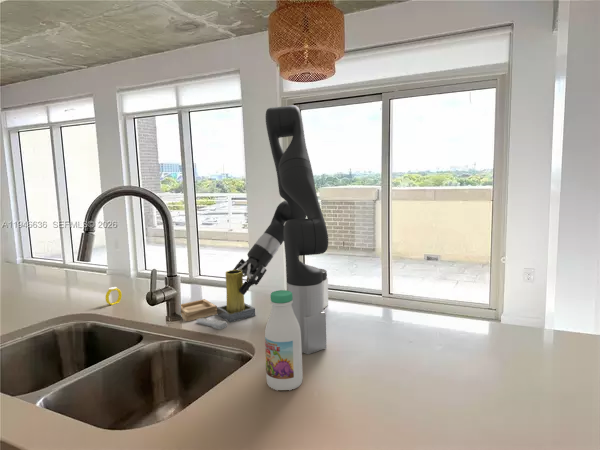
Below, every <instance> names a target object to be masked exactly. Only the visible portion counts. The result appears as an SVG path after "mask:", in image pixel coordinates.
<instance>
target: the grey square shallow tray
mask: <svg viewBox="0 0 600 450" xmlns="http://www.w3.org/2000/svg"><path fill="white" fill-rule="evenodd" d="M216 315H217V316H218V317H221V318H222V319H224V320H225V321H226V322H229V323H231V322H232V323H233V322H236V321H240V320H243V319H247V318H251V317H255V316H256V308H255V307H253V306H251V305H250V304H247V303H245V310H242V311H238V312H234V313H229V312H227V304H226V305H222V306H217V314H216Z"/></svg>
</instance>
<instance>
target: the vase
mask: <svg viewBox="0 0 600 450" xmlns="http://www.w3.org/2000/svg"><path fill="white" fill-rule="evenodd" d="M243 280H244V277H243V275H242V271H241V270H233V269H231V270H227V271H225V284H226V286H225V287H226V305H227V312H229V313H234V312H238V311H242V310H245V304H246V303H245V294H244V295H243V294H241V293H240V292H239V289H240V288H241V287H242V285H243V284H244V281H243Z"/></svg>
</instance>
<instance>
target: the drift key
mask: <svg viewBox="0 0 600 450" xmlns="http://www.w3.org/2000/svg"><path fill="white" fill-rule="evenodd" d="M195 321H196V322H195V323H196V324H199V325H203V326H207V327H210V328H211V327H212V328H213V329H216V330H223V329H224V328H227V327H228V321H224V320H212V319H208V318H205V317H203V318H199V319H195Z"/></svg>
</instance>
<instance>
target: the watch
mask: <svg viewBox="0 0 600 450" xmlns="http://www.w3.org/2000/svg"><path fill="white" fill-rule="evenodd" d="M114 291H117V295H118V296H117V299H116V301H114V302H112V303H111V301H110V294H111V293H112V292H114ZM122 296H123V294H122V291H121V289H120V288H118V287H117V286H112V287H109V288H108V290H107V291H106V294H105V302H106V303H107V304H108V305H111V306H114V305H117V304H119V303H120V302H121V300H122Z"/></svg>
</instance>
